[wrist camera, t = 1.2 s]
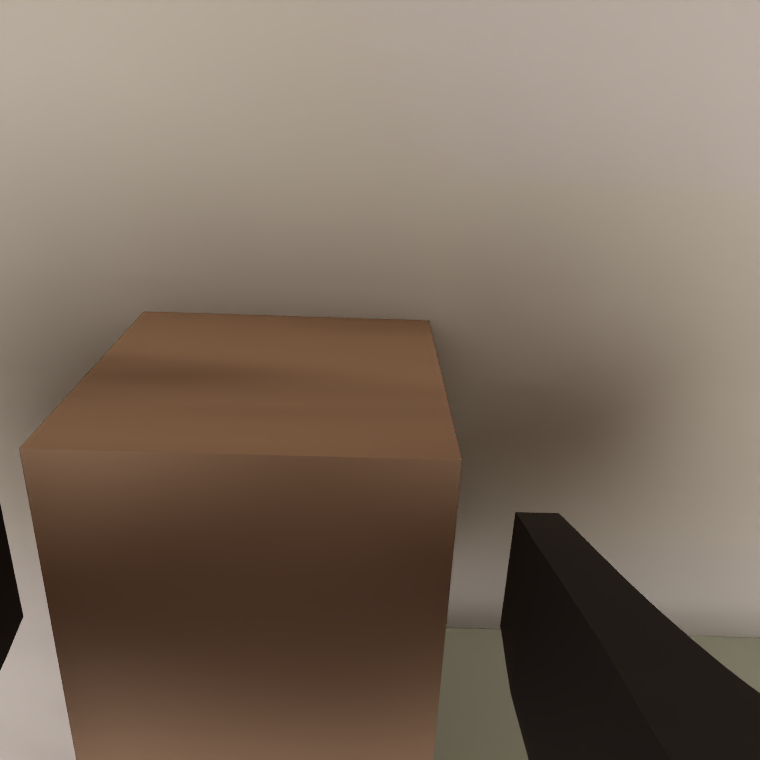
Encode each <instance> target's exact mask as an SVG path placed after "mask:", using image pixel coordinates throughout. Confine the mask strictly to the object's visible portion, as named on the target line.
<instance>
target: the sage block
mask: <svg viewBox="0 0 760 760" xmlns="http://www.w3.org/2000/svg"><path fill="white" fill-rule="evenodd" d="M689 637H690V638H691V639H693V640H694V641H695V642H696V643H697V644H699V645H700V646H701V647H702V648H703V649H705V650H706V651H707V652H708V653H709V654H711V655H712V656H713V657H714V658H715V659H717V660H718V661H719V662H720V663H721V664H723V665H724V666H725V667H726V668H728V669H729V670H730V671H731V672H733V673H734V674H735V675H737V676H738V677H739V678H740V679H742V680H743V681H744V682H746V683H747V684H748V685H750V686H751V687H752V688H754V689H755V690H756V691H758V692H759V693H760V638H742V637H712V636H689ZM433 760H529V759H528V756H527V752H526V749H525V745H524V741H523V738H522V734H521V730H520V727H519V723H518V719H517V716H516V712H515V708H514V704H513V701H512V697H511V693H510V687H509V681H508V674H507V668H506V662H505V655H504V648H503V641H502V634H501V629H471V628H446V633H445V644H444V654H443V664H442V675H441V685H440V696H439V706H438V717H437V727H436V738H435V748H434V759H433Z"/></svg>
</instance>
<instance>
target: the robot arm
mask: <svg viewBox="0 0 760 760" xmlns="http://www.w3.org/2000/svg"><path fill="white" fill-rule="evenodd" d="M22 618H23V613H22V608H21V603H20V598H19V593H18V588H17V584H16V579H15V574H14V569H13V564H12V559H11V554H10V549H9V544H8V540H7V535H6V530H5V525H4V520H3V515H2V510H1V505H0V670H1V668H2V665H3V663H4V661H5V659H6V657H7V654H8V652H9V650H10V647H11V645H12V642H13V640H14V637H15V635H16V633H17V630H18V628H19V625H20V623H21V621H22ZM500 627H501V634H502V641H503V648H504V655H505V662H506V668H507V674H508V681H509V687H510V693H511V697H512V701H513V704H514V708H515V712H516V716H517V719H518V723H519V727H520V730H521V734H522V738H523V741H524V745H525V749H526V752H527V756H528V759H529V760H760V693H759V692H758V691H756V690H755V689H754V688H752V687H751V686H750V685H748V684H747V683H746V682H744V681H743V680H742V679H740V678H739V677H738V676H737V675H735V674H734V673H733V672H731V671H730V670H729V669H728V668H726V667H725V666H724V665H723V664H721V663H720V662H719V661H718V660H717V659H715V658H714V657H713V656H712V655H711V654H709V653H708V652H707V651H706V650H705V649H703V648H702V647H701V646H700V645H699V644H697V643H696V642H695V641H694V640H693V639H691V638H690V637H689V636H688V635H687V634H685V633H684V632H683V631H682V630H681V629H680V628H678V627H677V626H676V625H675V624H674V623H673V622H672V621H670V620H669V619H668V618H667V617H666V616H665V615H664V614H663V613H661V612H660V611H659V610H658V609H657V608H656V607H655V606H654V605H653V604H652V603H650V602H649V601H648V600H647V599H646V598H645V597H644V596H643V595H642V594H641V593H640V592H639V591H638V590H637V589H635V588H634V587H633V586H632V585H631V584H630V583H629V582H628V581H627V580H626V579H625V578H624V577H623V576H622V575H621V574H620V573H619V572H618V571H617V570H616V569H615V568H614V567H613V566H612V565H611V564H610V563H609V562H607V561H606V560H605V559H604V558H603V557H602V556H601V555H600V554H599V553H598V552H597V551H596V550H595V549H594V548H593V547H592V546H591V545H590V544H589V543H588V542H587V541H586V540H585V539H584V538H583V537H582V536H581V535H580V534H579V533H578V532H577V531H576V530H575V529H574V528H573V527H572V526H571V525H570V524H569V523H568V522H567V521H566V520H565V519H564V518H563V517H562V516H561V515H560V514H559V513H526V512H516V513H515V520H514V528H513V535H512V542H511V550H510V557H509V565H508V572H507V580H506V587H505V595H504V602H503V609H502V617H501V624H500Z"/></svg>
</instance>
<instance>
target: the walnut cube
mask: <svg viewBox="0 0 760 760" xmlns="http://www.w3.org/2000/svg"><path fill="white" fill-rule="evenodd" d="M19 451H20V456H21V462H22V467H23V472H24V478H25V483H26V489H27V494H28V500H29V505H30V511H31V516H32V521H33V527H34V532H35V538H36V543H37V549H38V554H39V559H40V565H41V570H42V576H43V581H44V587H45V592H46V598H47V603H48V608H49V614H50V619H51V625H52V630H53V636H54V641H55V647H56V652H57V657H58V663H59V668H60V674H61V679H62V685H63V690H64V696H65V701H66V706H67V712H68V717H69V723H70V728H71V734H72V739H73V744H74V750H75V755H76V760H433V759H434V748H435V738H436V727H437V717H438V706H439V696H440V685H441V675H442V664H443V654H444V644H445V633H446V623H447V612H448V602H449V591H450V581H451V570H452V560H453V549H454V539H455V528H456V518H457V508H458V497H459V487H460V476H461V466H462V458H461V453H460V449H459V445H458V441H457V437H456V432H455V428H454V424H453V420H452V416H451V412H450V407H449V403H448V399H447V395H446V391H445V386H444V382H443V378H442V374H441V370H440V365H439V361H438V357H437V353H436V349H435V345H434V340H433V336H432V332H431V328H430V324H429V321H425V320H393V319H361V318H329V317H298V316H266V315H234V314H202V313H170V312H143V313H142V314H141V315H140V316H139V318H138V319H137V320H136V321H135V322H134V323H133V324H132V325H131V326H130V327H129V328H128V330H127V331H126V332H125V333H124V334H123V335H122V336H121V337H120V338H119V339H118V341H117V342H116V343H115V344H114V345H113V346H112V347H111V348H110V349H109V350H108V352H107V353H106V354H105V355H104V356H103V357H102V358H101V359H100V360H99V361H98V363H97V364H96V365H95V366H94V367H93V368H92V369H91V370H90V371H89V372H88V374H87V375H86V376H85V377H84V378H83V379H82V380H81V381H80V382H79V383H78V384H77V386H76V387H75V388H74V389H73V390H72V391H71V392H70V393H69V394H68V395H67V397H66V398H65V399H64V400H63V401H62V402H61V403H60V404H59V405H58V406H57V408H56V409H55V410H54V411H53V412H52V413H51V414H50V415H49V416H48V417H47V419H46V420H45V421H44V422H43V423H42V424H41V425H40V426H39V427H38V428H37V430H36V431H35V432H34V433H33V434H32V435H31V436H30V437H29V438H28V439H27V440H26V442H25V443H24V444H23V445H22V446H21V447H20V448H19Z"/></svg>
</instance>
